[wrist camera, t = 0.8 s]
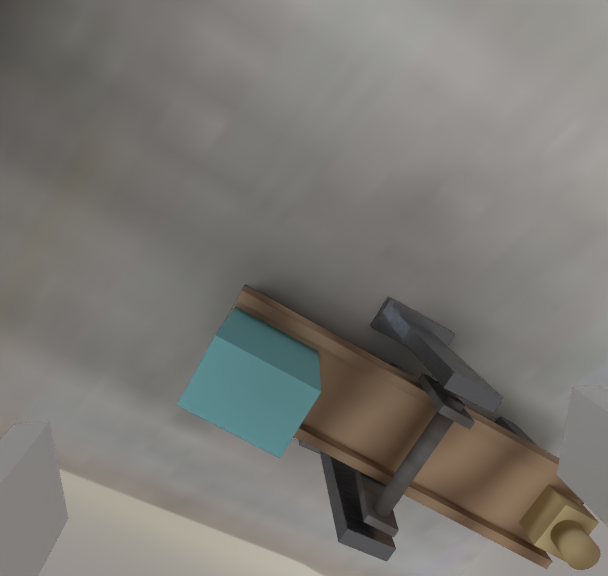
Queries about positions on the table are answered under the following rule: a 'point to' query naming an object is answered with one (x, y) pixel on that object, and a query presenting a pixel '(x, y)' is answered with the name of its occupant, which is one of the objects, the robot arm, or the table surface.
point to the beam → (432, 450)
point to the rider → (255, 382)
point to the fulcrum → (450, 374)
